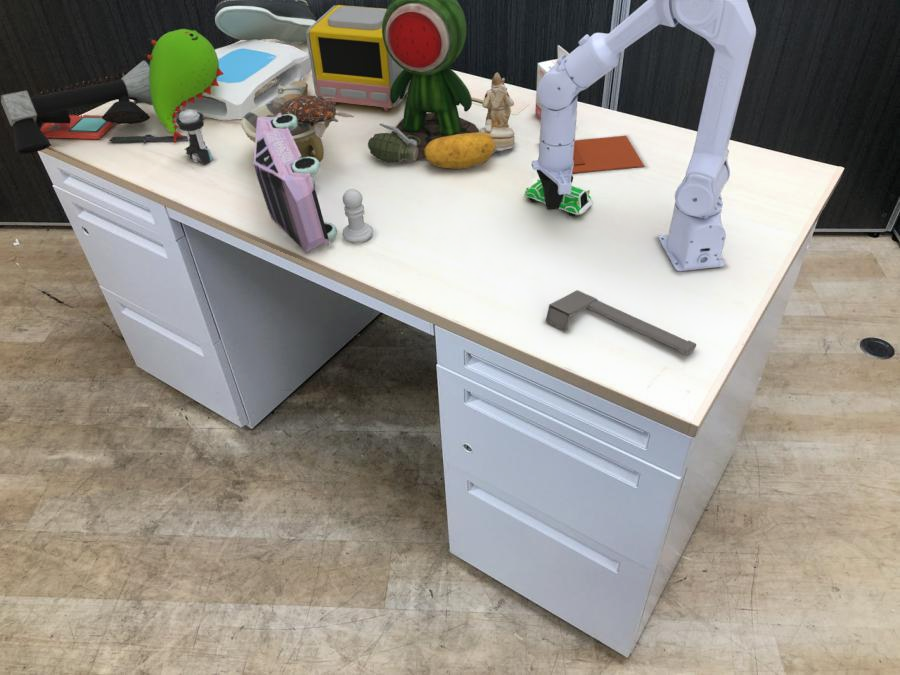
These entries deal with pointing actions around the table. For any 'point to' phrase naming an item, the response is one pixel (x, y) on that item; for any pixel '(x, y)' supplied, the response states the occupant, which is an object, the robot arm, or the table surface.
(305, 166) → the toy car
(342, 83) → the alarm clock
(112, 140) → the knife
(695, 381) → the table surface
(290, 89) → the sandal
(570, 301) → the toilet paper hanger
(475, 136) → the potato
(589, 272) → the table surface
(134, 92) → the telephone
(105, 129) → the handheld gaming console
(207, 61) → the toy
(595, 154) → the rust cloth
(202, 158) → the push button
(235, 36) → the boat shoe
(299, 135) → the bowl
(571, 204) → the toy car
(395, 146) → the grenade
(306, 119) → the toy
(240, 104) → the document scanner
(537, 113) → the ink cartridge box
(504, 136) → the figurine
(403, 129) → the figurine
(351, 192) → the chess piece
